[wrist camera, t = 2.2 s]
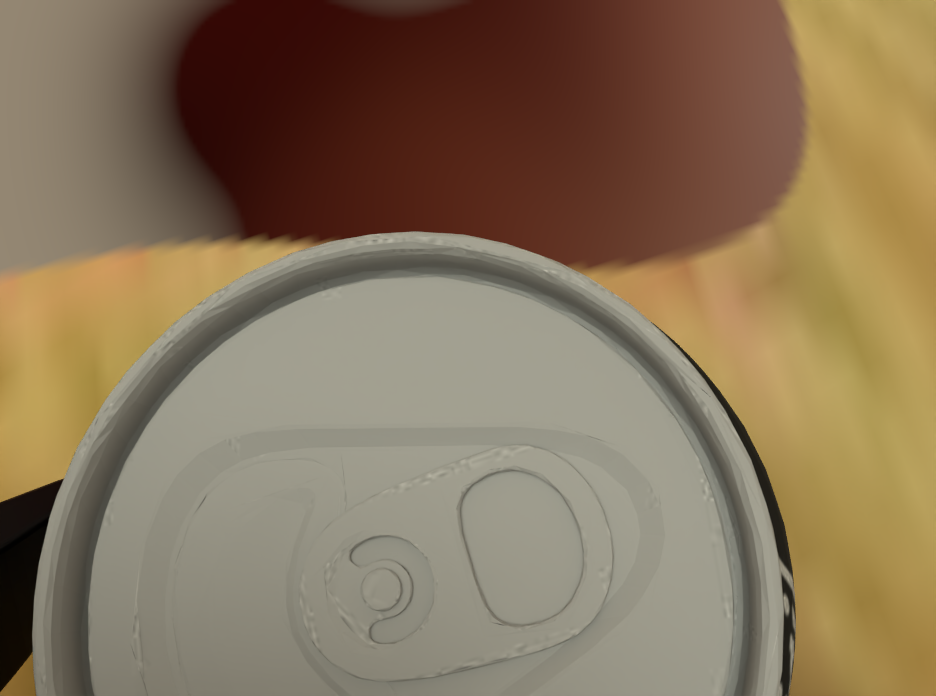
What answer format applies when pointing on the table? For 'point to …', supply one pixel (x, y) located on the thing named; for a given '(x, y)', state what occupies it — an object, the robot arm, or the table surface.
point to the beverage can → (415, 496)
